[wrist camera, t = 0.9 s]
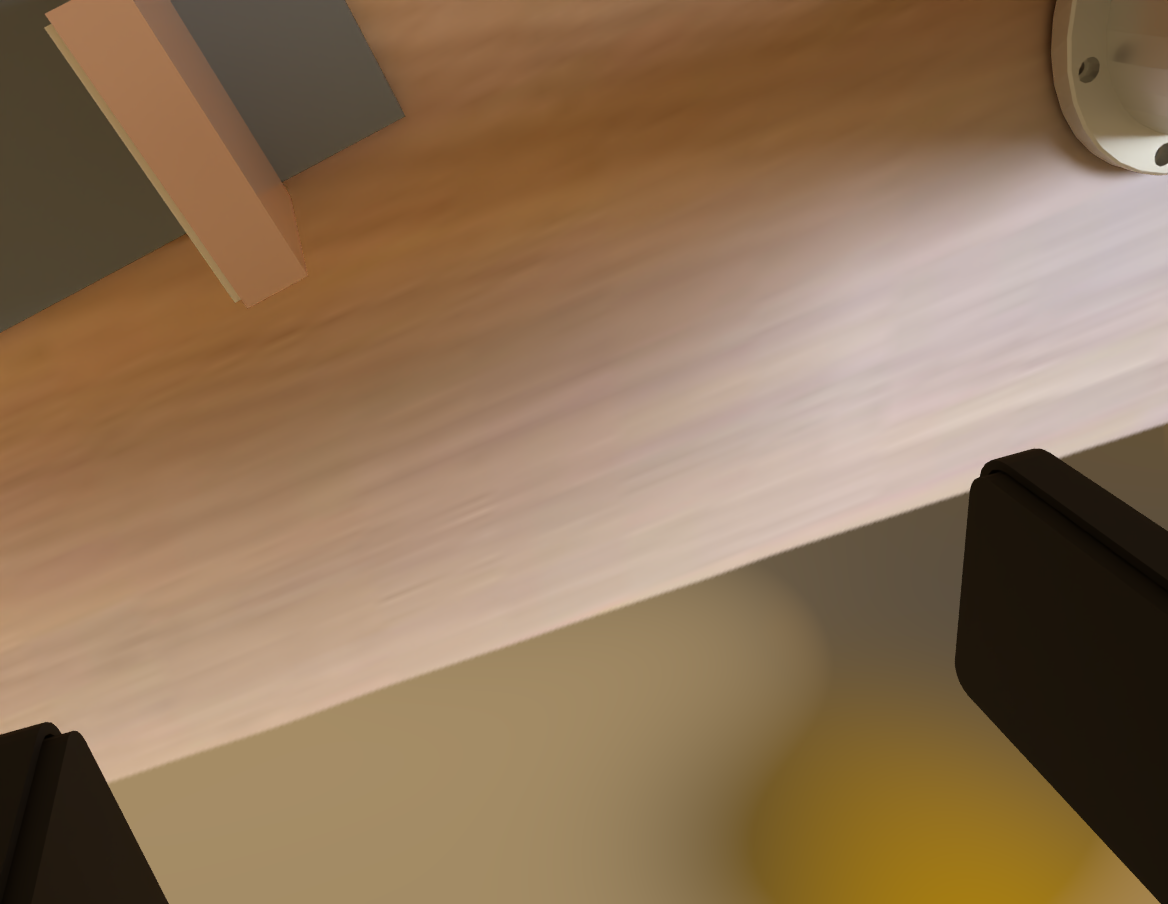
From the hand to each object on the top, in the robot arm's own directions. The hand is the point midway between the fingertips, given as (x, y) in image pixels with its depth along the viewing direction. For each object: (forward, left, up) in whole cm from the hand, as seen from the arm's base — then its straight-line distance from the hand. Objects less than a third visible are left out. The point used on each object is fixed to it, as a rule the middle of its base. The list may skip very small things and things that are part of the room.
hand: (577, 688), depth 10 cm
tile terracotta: (+3, -4, -24) cm, 24 cm away
